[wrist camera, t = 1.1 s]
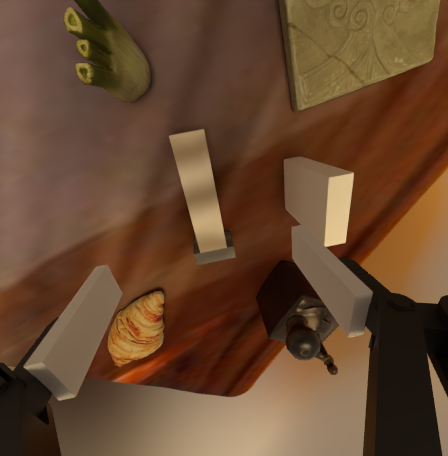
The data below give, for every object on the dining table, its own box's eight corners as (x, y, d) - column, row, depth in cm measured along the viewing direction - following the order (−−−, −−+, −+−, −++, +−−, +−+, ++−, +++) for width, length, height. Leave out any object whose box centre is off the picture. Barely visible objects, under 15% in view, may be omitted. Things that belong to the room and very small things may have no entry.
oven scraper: (231, 240, 36) (235, 257, 31) (197, 247, 36) (196, 265, 31) (210, 127, 28) (212, 127, 23) (166, 135, 28) (160, 137, 23)
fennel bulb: (122, 32, 23) (54, -52, 12) (163, 65, 24) (135, 18, 14) (101, 83, 24) (25, 51, 14) (141, 111, 26) (100, 101, 15)
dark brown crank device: (325, 272, 41) (404, 365, 25) (294, 309, 45) (346, 410, 29) (260, 247, 37) (306, 340, 21) (232, 291, 41) (253, 397, 25)
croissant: (150, 269, 41) (119, 287, 34) (190, 300, 39) (167, 327, 32) (115, 337, 48) (83, 365, 40) (148, 366, 46) (121, 401, 39)
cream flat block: (300, 156, 31) (355, 172, 20) (300, 205, 34) (346, 242, 24) (283, 159, 31) (328, 177, 20) (285, 208, 34) (324, 247, 24)
